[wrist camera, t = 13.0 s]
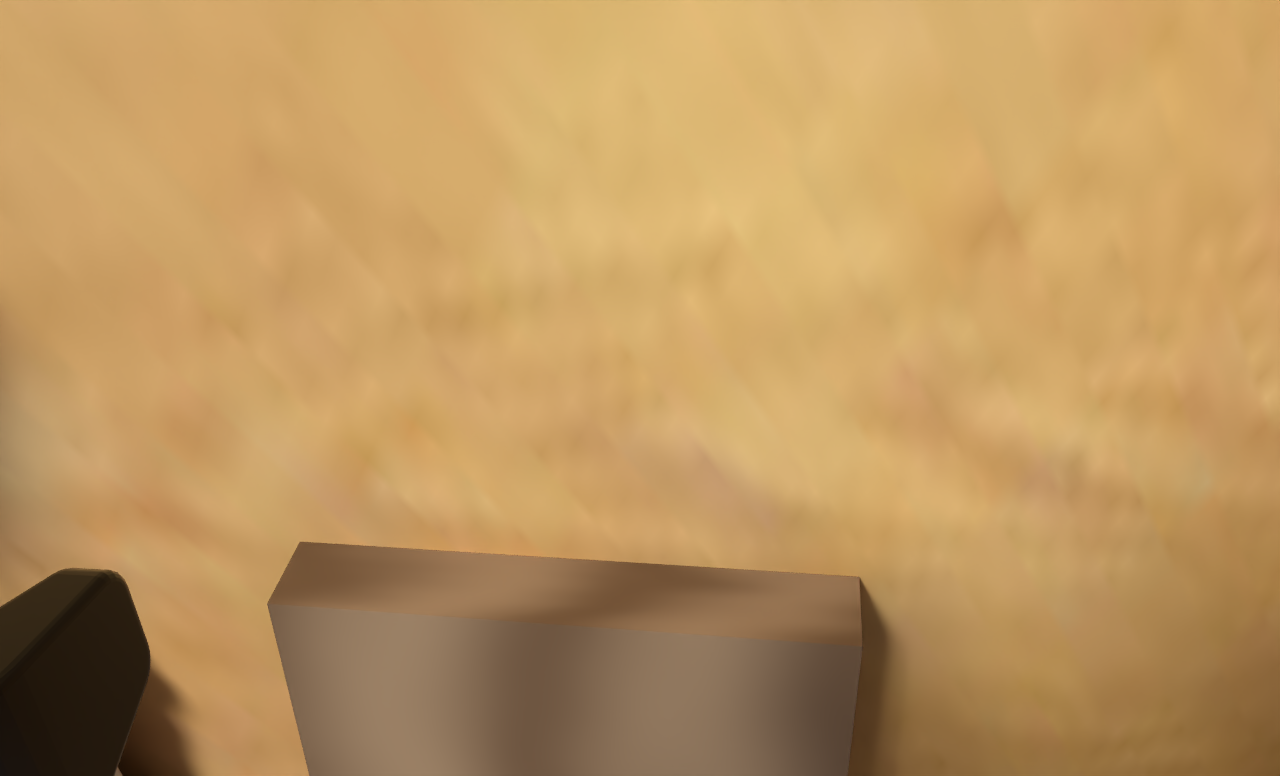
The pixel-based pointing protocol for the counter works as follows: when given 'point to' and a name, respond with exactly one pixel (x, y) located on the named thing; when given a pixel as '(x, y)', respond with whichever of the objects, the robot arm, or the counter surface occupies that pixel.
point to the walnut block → (564, 665)
